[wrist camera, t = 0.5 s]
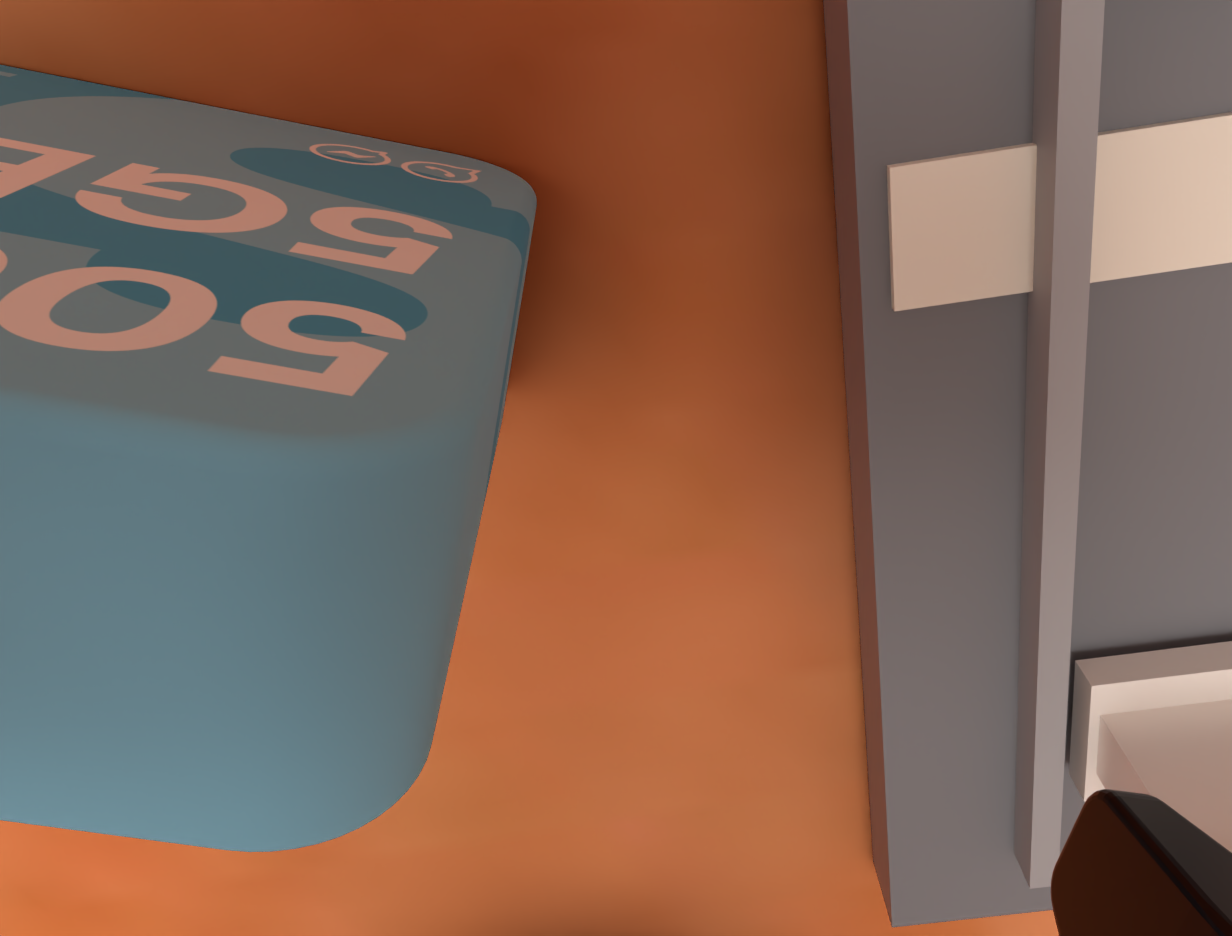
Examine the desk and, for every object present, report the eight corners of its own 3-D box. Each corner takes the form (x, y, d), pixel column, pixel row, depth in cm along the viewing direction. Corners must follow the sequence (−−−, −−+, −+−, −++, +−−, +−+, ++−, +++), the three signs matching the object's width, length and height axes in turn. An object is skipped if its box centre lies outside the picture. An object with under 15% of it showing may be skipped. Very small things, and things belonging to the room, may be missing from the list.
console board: (1364, 805, 26) (1485, 944, 22) (873, 860, 27) (914, 1004, 23) (1644, -432, 15) (1965, -544, 12) (806, -280, 16) (864, -340, 12)
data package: (544, 168, 19) (461, 479, 8) (507, 396, 21) (402, 886, 10) (-160, 29, 18) (-1321, 181, 7) (-127, 285, 20) (-993, 703, 9)
